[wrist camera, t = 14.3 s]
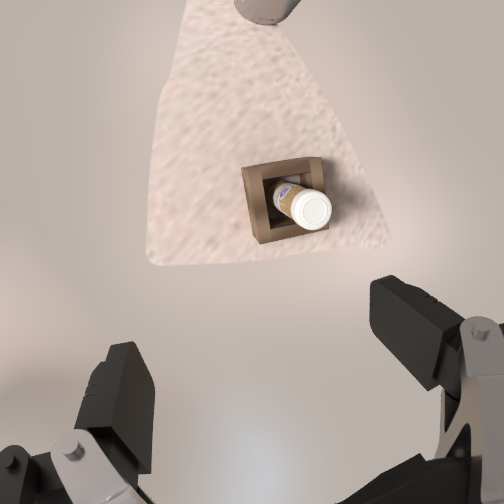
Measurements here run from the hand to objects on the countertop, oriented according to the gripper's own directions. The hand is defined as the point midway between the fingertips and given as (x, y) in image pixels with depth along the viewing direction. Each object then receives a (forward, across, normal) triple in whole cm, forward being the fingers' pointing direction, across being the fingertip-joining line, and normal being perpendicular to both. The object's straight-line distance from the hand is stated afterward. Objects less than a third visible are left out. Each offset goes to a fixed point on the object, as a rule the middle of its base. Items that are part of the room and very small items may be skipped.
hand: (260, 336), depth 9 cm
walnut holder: (+36, -11, +2) cm, 38 cm away
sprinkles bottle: (+36, -11, +2) cm, 38 cm away
